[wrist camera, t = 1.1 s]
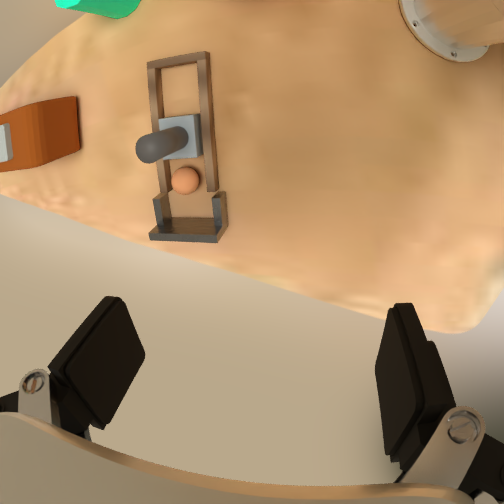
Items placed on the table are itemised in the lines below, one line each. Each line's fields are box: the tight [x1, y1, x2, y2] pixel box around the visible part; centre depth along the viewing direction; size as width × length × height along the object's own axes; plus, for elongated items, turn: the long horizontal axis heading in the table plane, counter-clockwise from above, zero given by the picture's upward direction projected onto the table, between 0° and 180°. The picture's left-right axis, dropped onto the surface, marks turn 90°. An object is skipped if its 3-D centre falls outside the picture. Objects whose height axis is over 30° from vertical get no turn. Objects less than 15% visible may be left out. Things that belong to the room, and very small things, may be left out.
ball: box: [171, 167, 199, 195], centre depth 35 cm, size 3×3×3 cm
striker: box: [136, 114, 204, 163], centre depth 30 cm, size 5×4×9 cm
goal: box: [149, 192, 228, 243], centre depth 37 cm, size 5×9×5 cm, turn 93°
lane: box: [147, 51, 219, 193], centre depth 33 cm, size 17×7×2 cm, turn 3°
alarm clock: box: [0, 96, 80, 172], centre depth 32 cm, size 24×8×11 cm, turn 89°
